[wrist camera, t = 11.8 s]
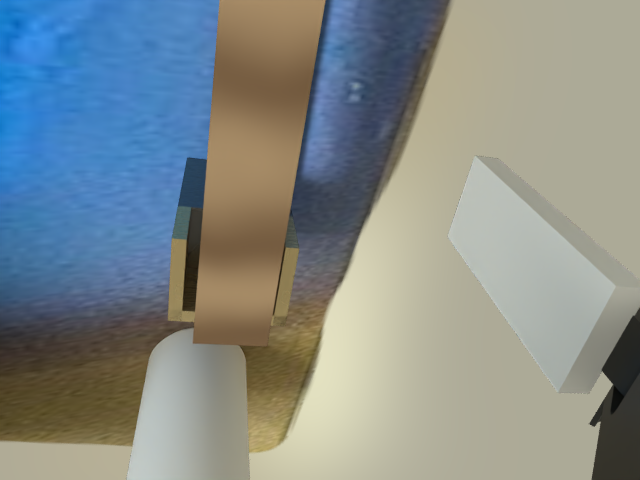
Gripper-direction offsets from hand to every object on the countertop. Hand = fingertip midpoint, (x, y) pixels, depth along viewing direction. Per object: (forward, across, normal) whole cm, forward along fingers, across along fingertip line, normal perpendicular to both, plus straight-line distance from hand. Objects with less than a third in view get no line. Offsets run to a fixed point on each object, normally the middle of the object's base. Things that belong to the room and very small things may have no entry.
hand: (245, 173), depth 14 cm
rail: (+17, -1, 0) cm, 17 cm away
